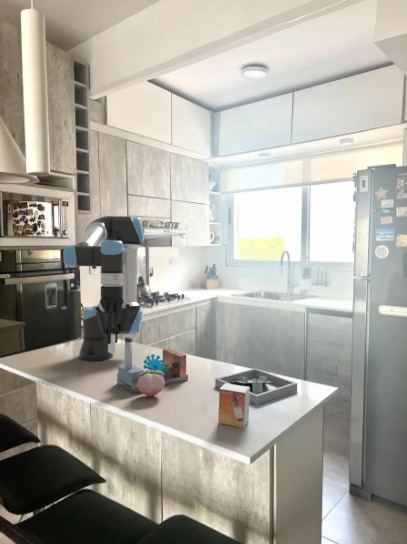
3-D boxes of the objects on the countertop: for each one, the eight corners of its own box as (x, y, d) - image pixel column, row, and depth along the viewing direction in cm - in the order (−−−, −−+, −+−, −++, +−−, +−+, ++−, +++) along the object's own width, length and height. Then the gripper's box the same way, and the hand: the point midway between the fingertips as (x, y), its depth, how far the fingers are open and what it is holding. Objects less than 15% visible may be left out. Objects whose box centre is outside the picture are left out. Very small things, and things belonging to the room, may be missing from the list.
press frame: (116, 383, 146) (117, 357, 146) (170, 371, 161) (170, 347, 161) (132, 393, 137) (132, 365, 136) (188, 380, 152) (188, 354, 151)
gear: (147, 377, 143) (142, 353, 149) (141, 385, 147) (136, 361, 153) (173, 376, 150) (167, 353, 155) (167, 383, 153) (161, 361, 159)
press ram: (118, 378, 145) (118, 335, 144) (130, 376, 149) (130, 334, 147) (131, 386, 138) (131, 341, 137) (143, 383, 141) (144, 339, 140)
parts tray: (215, 386, 146) (215, 378, 145) (254, 375, 159) (255, 368, 158) (256, 405, 129) (256, 396, 129) (297, 391, 142) (297, 383, 142)
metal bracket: (278, 376, 141) (237, 377, 139) (279, 393, 140) (238, 395, 138) (266, 375, 155) (229, 376, 153) (267, 390, 154) (229, 391, 152)
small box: (217, 423, 115) (218, 388, 115) (223, 416, 121) (224, 382, 120) (244, 428, 113) (245, 392, 112) (249, 420, 118) (250, 386, 117)
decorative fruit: (160, 390, 140) (161, 363, 140) (166, 399, 133) (167, 370, 132) (134, 393, 137) (134, 365, 136) (139, 402, 129) (139, 373, 129)
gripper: (98, 287, 129) (98, 357, 130) (133, 285, 137) (133, 352, 139) (89, 285, 135) (89, 353, 136) (123, 283, 143) (123, 347, 144)
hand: (111, 352), depth 137 cm, fingers closed
